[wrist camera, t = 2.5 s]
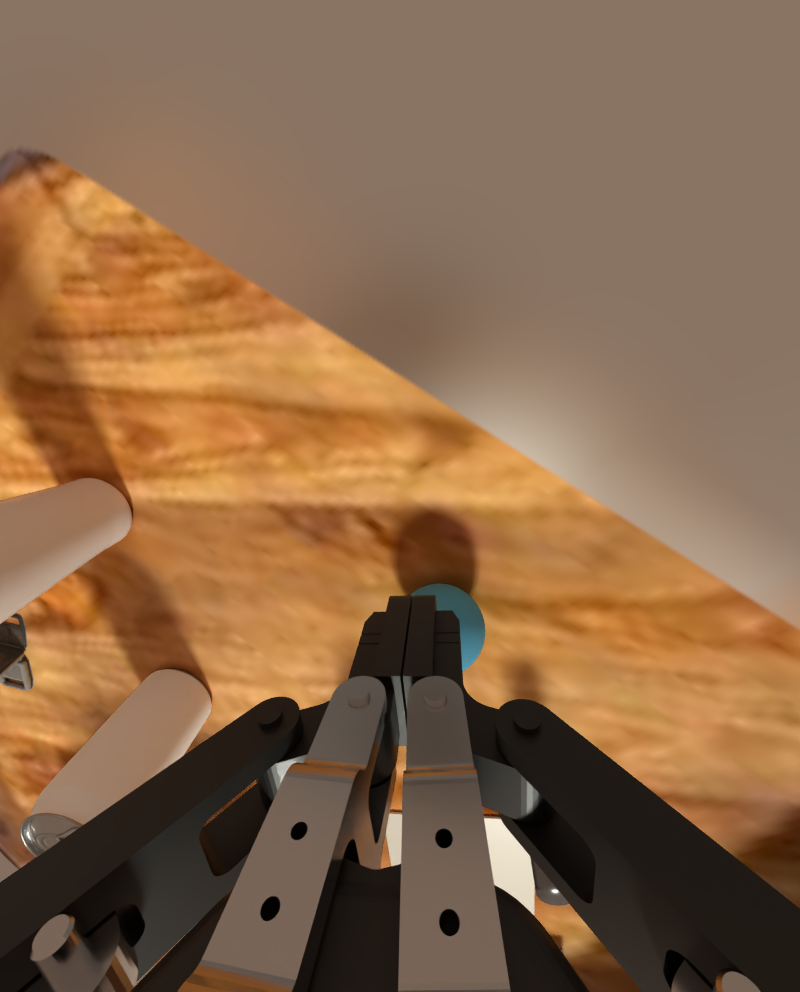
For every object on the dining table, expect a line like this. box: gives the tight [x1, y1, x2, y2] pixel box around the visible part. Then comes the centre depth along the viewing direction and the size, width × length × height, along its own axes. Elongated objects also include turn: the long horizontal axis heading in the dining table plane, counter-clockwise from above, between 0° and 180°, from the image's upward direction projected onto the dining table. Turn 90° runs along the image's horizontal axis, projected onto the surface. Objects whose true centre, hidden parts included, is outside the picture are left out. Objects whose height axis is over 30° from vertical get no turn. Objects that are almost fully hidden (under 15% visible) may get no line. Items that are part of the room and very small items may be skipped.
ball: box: [410, 583, 485, 671], centre depth 28 cm, size 6×6×6 cm
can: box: [20, 669, 211, 857], centre depth 31 cm, size 6×6×12 cm
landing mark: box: [386, 812, 534, 915], centre depth 40 cm, size 14×14×1 cm
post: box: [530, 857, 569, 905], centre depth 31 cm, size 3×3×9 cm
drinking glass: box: [0, 478, 132, 624], centre depth 24 cm, size 7×7×15 cm
